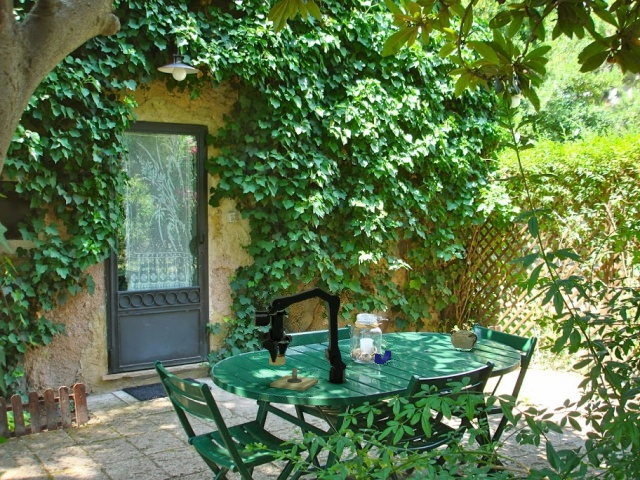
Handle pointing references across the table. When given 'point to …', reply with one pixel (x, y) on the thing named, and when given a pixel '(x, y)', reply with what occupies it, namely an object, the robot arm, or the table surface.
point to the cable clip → (386, 357)
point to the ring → (278, 360)
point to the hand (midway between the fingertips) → (277, 360)
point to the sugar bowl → (463, 338)
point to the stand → (294, 382)
